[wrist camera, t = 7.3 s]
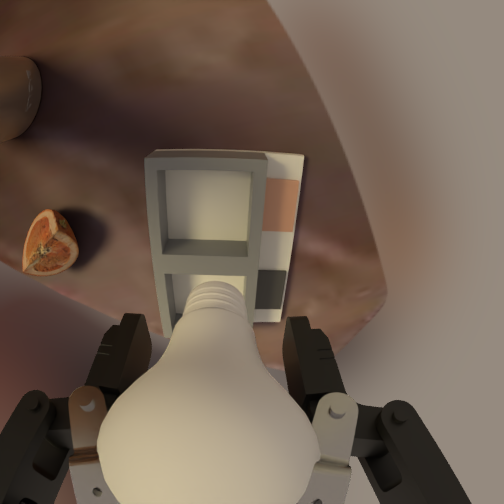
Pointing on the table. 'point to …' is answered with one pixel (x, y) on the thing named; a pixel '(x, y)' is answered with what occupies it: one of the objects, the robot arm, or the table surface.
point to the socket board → (222, 225)
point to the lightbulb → (208, 418)
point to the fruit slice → (49, 245)
